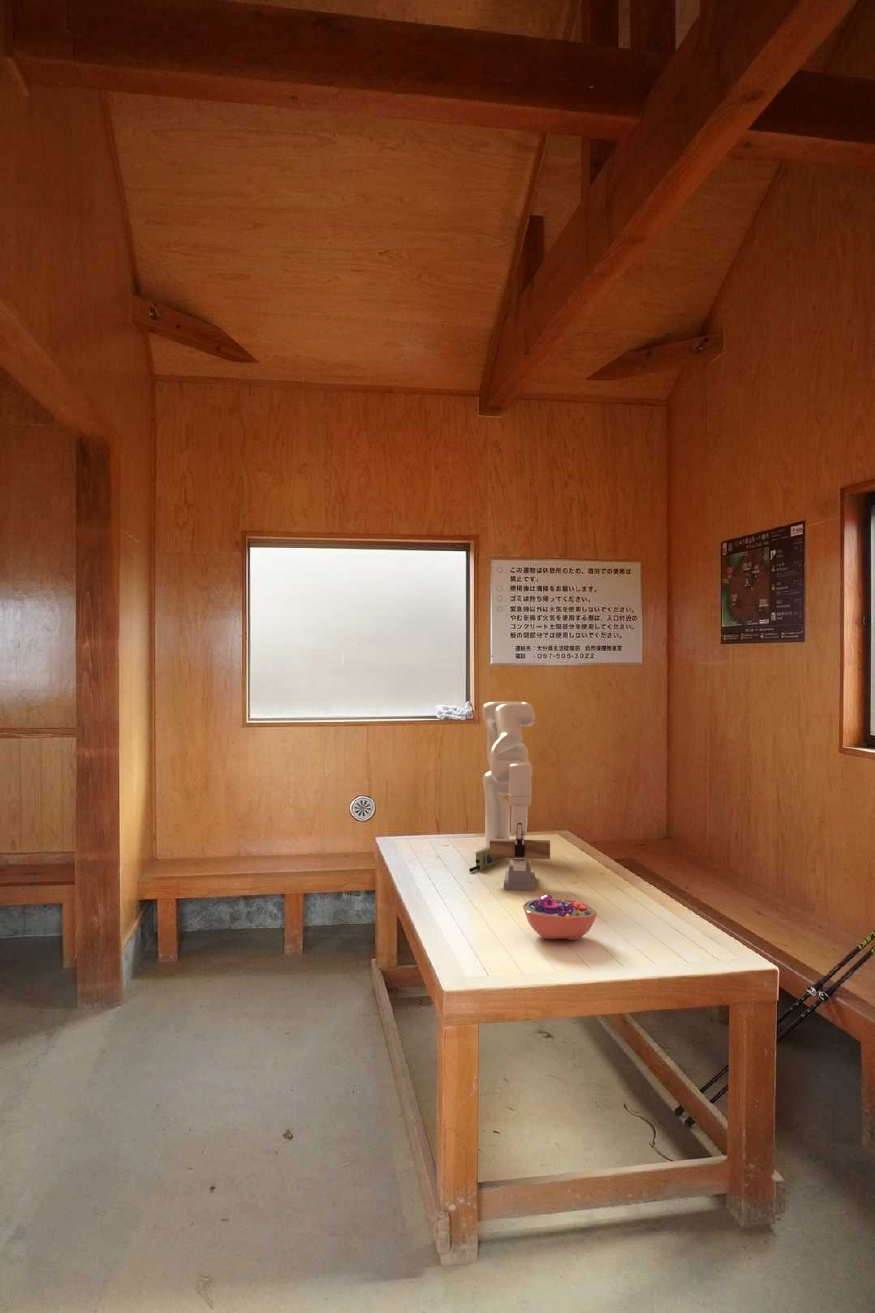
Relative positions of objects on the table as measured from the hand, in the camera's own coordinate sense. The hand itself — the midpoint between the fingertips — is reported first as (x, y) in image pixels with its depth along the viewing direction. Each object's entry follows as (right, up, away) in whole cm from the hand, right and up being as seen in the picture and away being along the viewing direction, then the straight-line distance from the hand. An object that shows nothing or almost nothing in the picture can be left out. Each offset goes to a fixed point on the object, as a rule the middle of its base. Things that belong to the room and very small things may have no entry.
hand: (519, 854), depth 276 cm
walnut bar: (0, -1, 0) cm, 1 cm away
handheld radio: (-9, -10, +24) cm, 28 cm away
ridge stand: (0, -10, 0) cm, 10 cm away
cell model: (+5, -10, -54) cm, 55 cm away
